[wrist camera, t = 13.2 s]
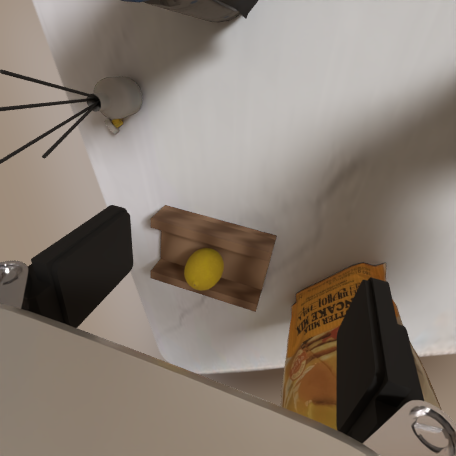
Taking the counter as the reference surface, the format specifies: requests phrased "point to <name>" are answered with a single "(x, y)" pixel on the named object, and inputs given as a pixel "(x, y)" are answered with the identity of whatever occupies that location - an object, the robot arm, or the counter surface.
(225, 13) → the beverage bottle
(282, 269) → the counter surface
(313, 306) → the pancake mix bag
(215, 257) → the lemon
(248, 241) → the u rest
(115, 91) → the reed diffuser
